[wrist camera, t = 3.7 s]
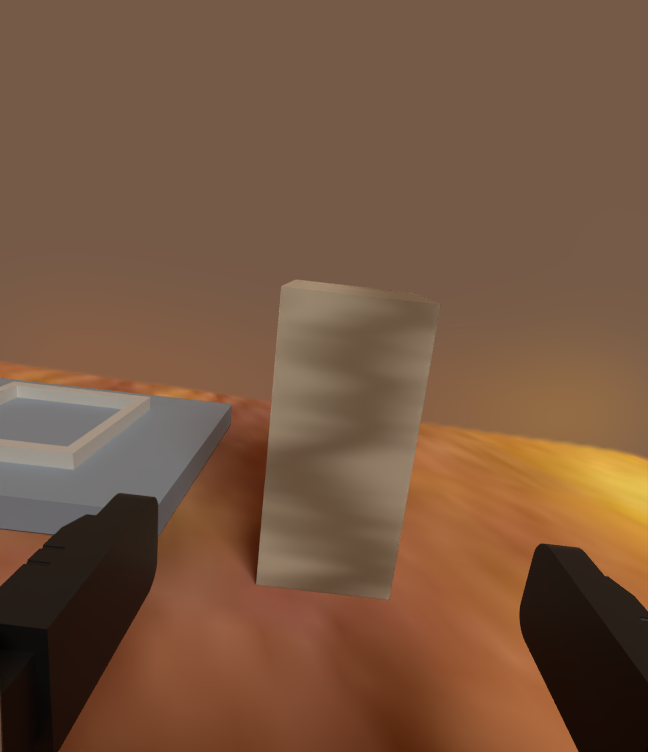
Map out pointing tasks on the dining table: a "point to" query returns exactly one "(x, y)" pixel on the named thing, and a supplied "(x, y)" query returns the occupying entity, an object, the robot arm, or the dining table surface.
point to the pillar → (342, 435)
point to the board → (97, 450)
